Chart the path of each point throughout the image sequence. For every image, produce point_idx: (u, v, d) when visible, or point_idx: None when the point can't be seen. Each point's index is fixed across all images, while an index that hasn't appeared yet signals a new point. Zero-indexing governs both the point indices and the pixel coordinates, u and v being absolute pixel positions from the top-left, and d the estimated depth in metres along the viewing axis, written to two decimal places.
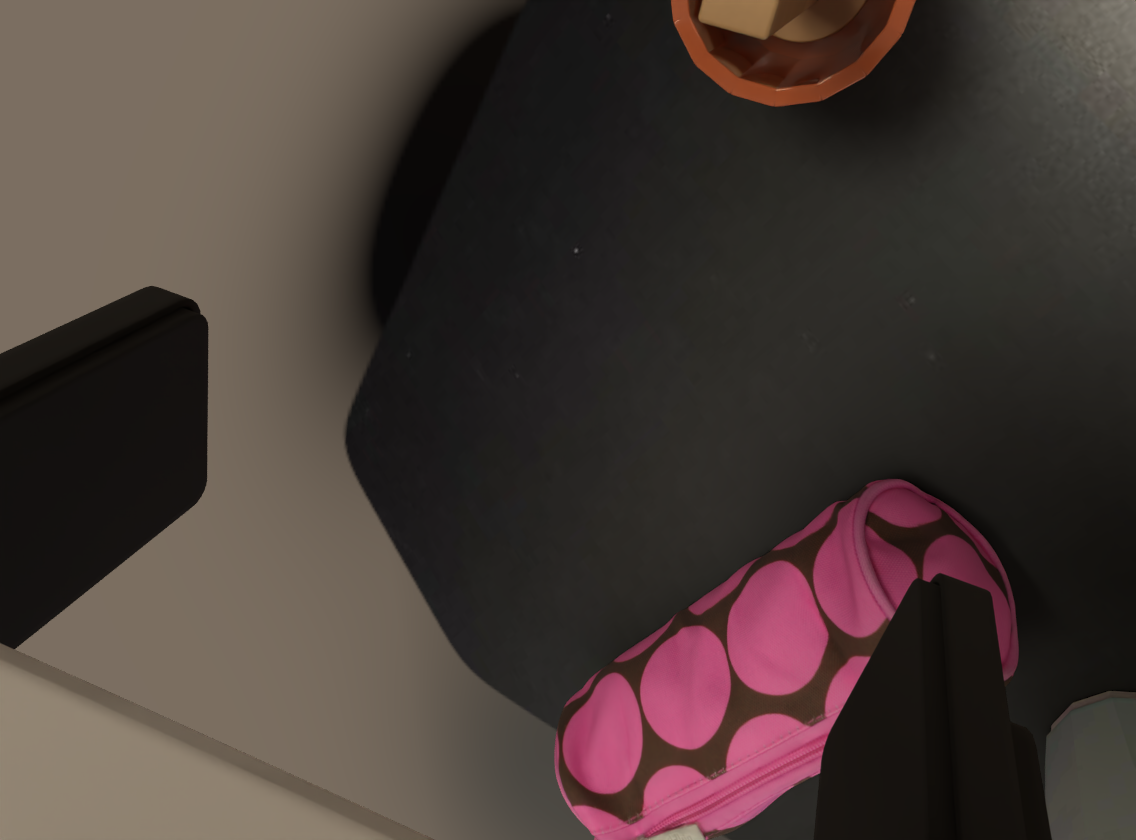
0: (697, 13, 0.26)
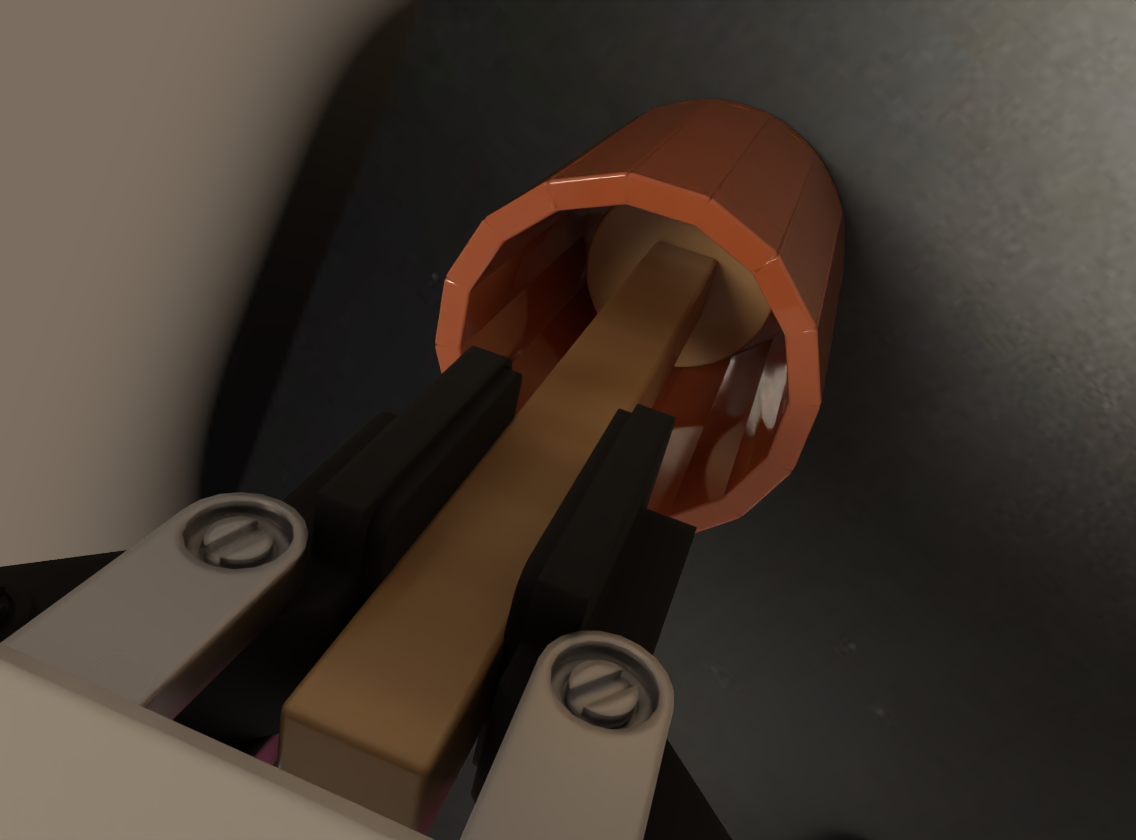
0: None
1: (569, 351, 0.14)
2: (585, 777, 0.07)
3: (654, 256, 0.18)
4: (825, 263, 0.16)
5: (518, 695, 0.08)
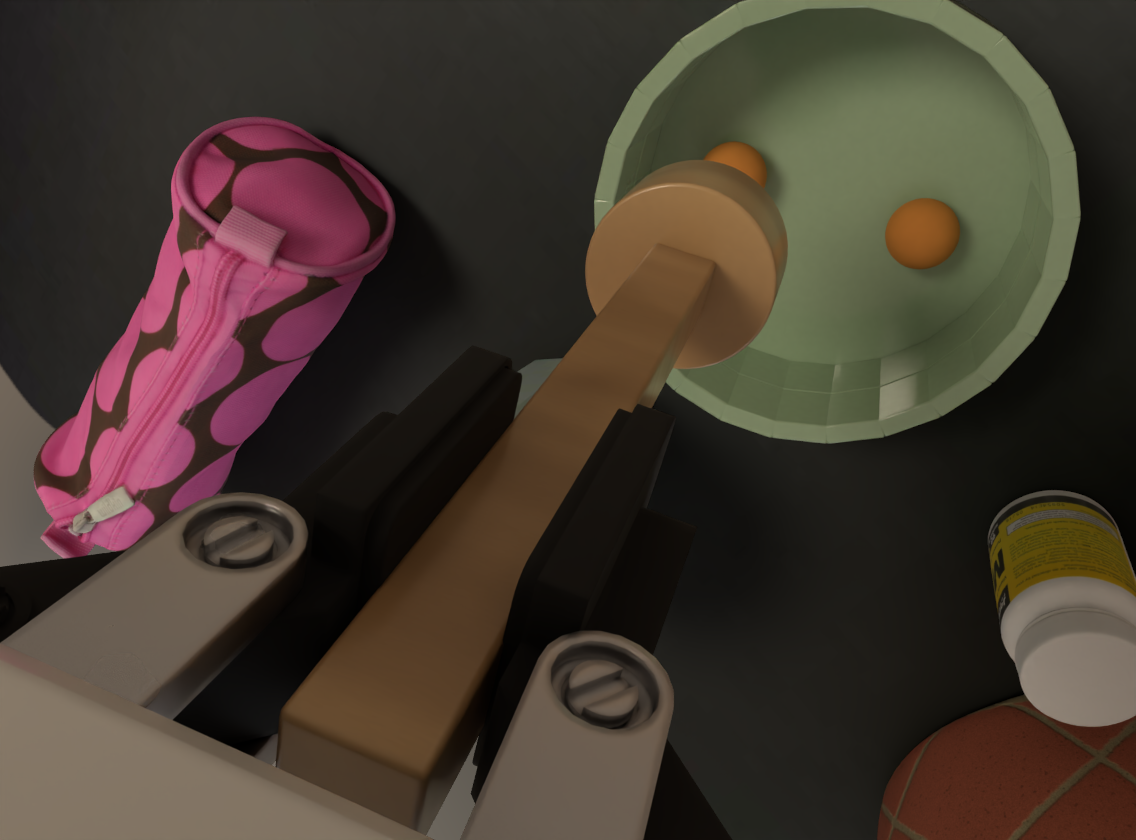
0: None
1: (568, 354, 0.14)
2: (585, 777, 0.07)
3: (653, 258, 0.18)
4: None
5: (518, 695, 0.08)
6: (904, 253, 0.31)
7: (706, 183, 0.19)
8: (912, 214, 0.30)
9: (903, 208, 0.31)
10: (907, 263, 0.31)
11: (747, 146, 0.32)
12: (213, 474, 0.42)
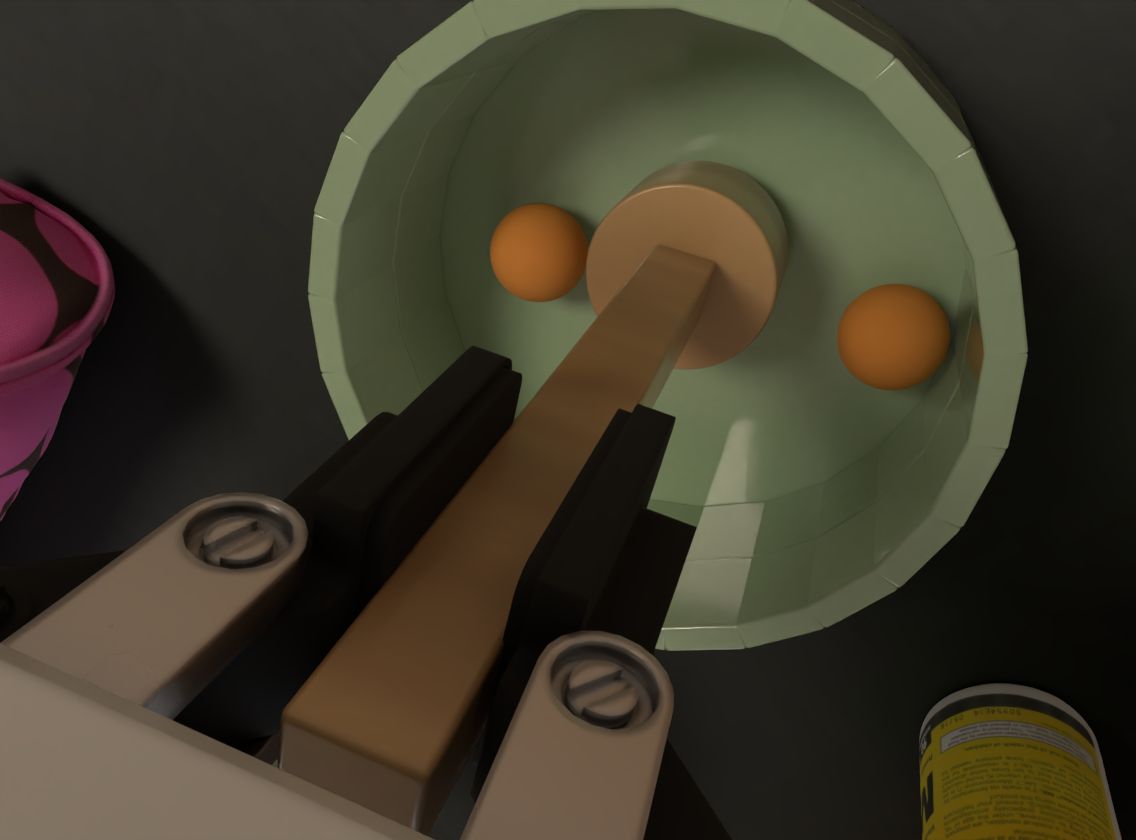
0: None
1: (568, 355, 0.14)
2: (585, 777, 0.07)
3: (653, 259, 0.18)
4: None
5: (518, 695, 0.08)
6: (938, 359, 0.20)
7: (707, 184, 0.19)
8: (925, 301, 0.20)
9: (903, 300, 0.20)
10: (928, 376, 0.20)
11: (554, 211, 0.22)
12: None
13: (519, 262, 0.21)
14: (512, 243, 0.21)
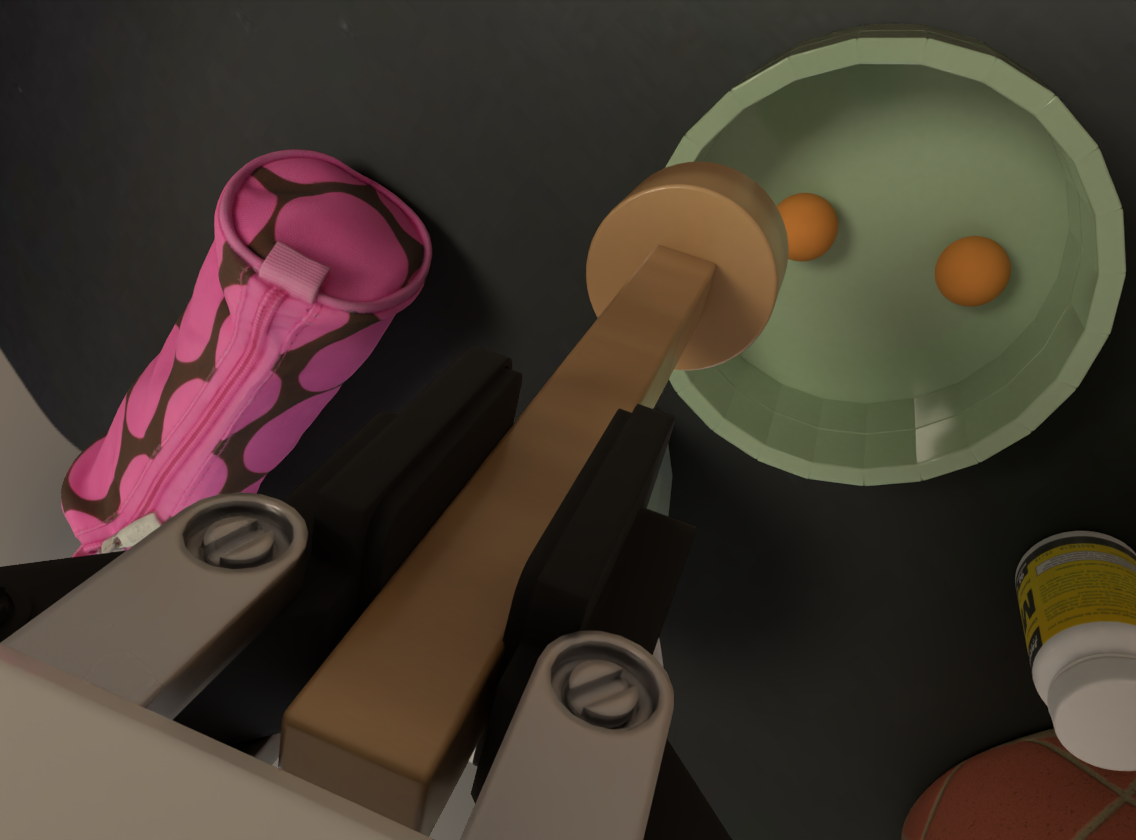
0: None
1: (569, 356, 0.14)
2: (585, 777, 0.07)
3: (654, 260, 0.18)
4: None
5: (518, 695, 0.08)
6: (964, 286, 0.31)
7: (707, 185, 0.19)
8: (975, 247, 0.30)
9: (962, 242, 0.31)
10: (962, 297, 0.31)
11: (823, 198, 0.32)
12: None
13: (828, 235, 0.31)
14: (823, 222, 0.31)
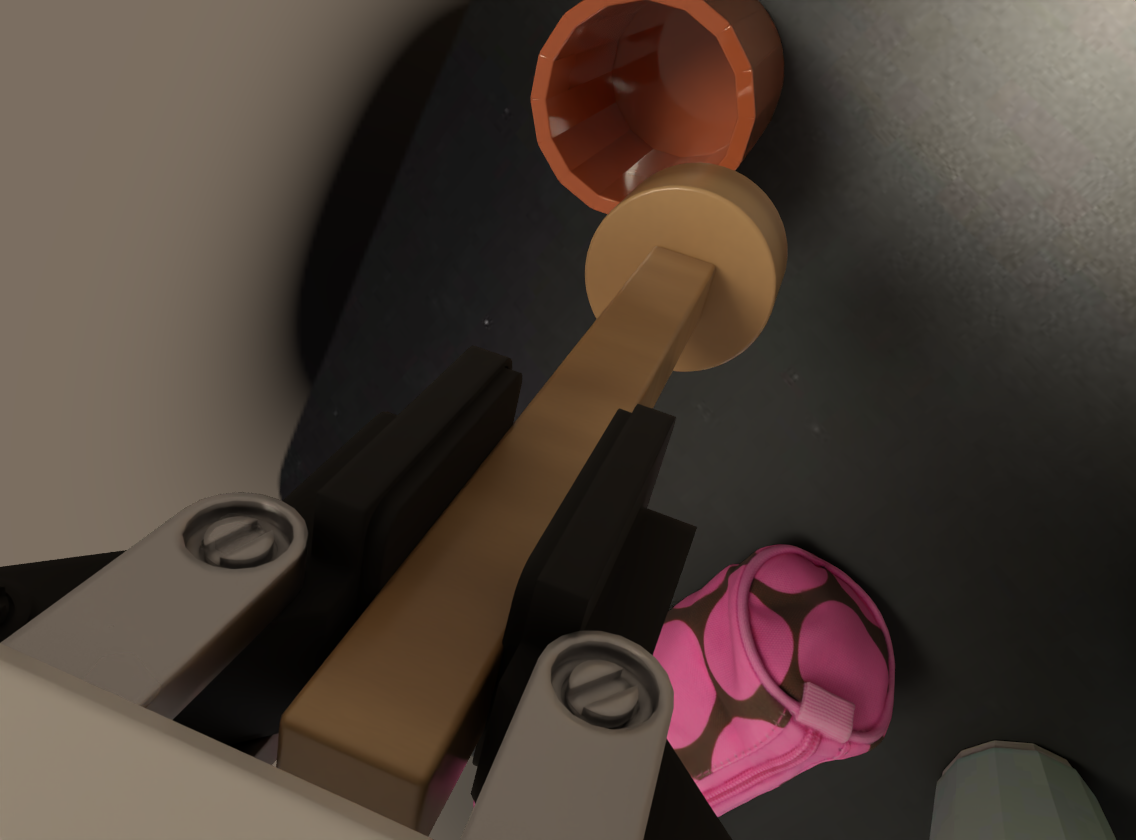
0: (563, 132, 0.28)
1: (567, 357, 0.14)
2: (585, 777, 0.07)
3: (653, 261, 0.18)
4: (762, 52, 0.27)
5: (518, 695, 0.08)
6: None
7: (706, 186, 0.19)
8: None
9: None
10: None
11: None
12: None
13: None
14: None
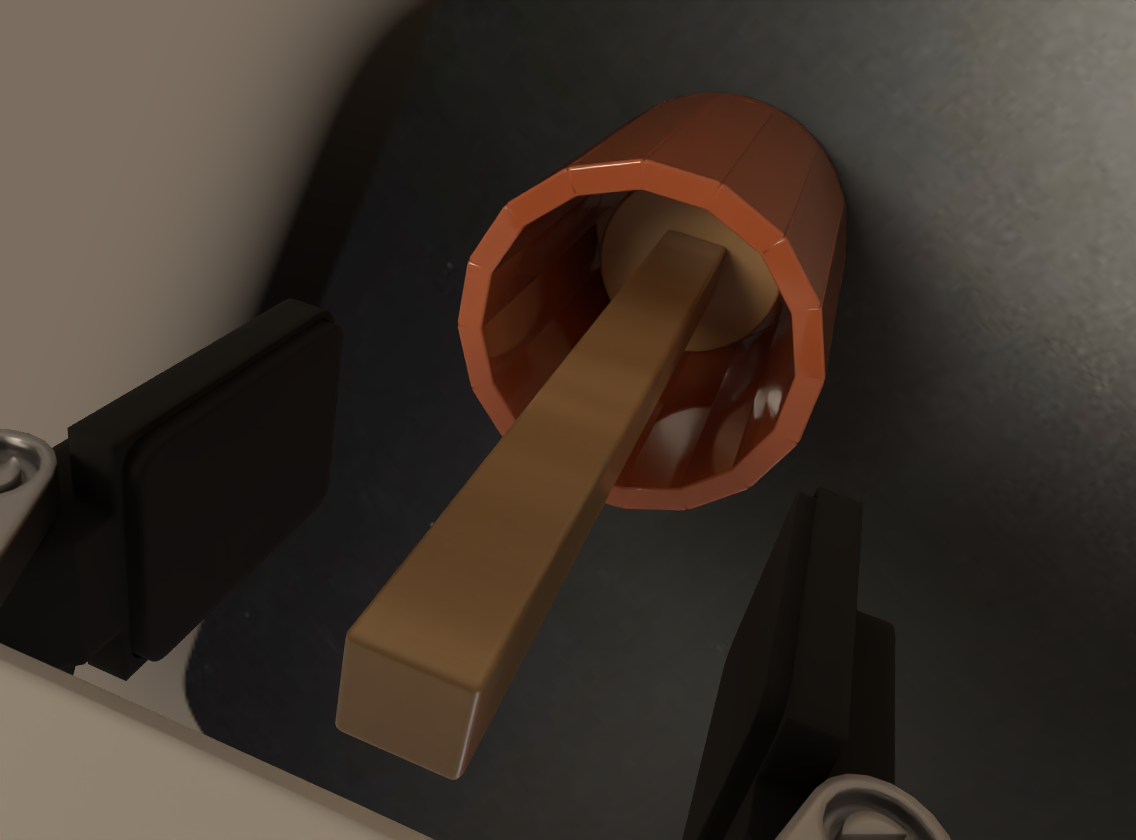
0: (514, 362, 0.18)
1: (590, 329, 0.15)
2: None
3: (666, 243, 0.19)
4: (828, 247, 0.17)
5: None
6: None
7: None
8: None
9: None
10: None
11: None
12: None
13: None
14: None
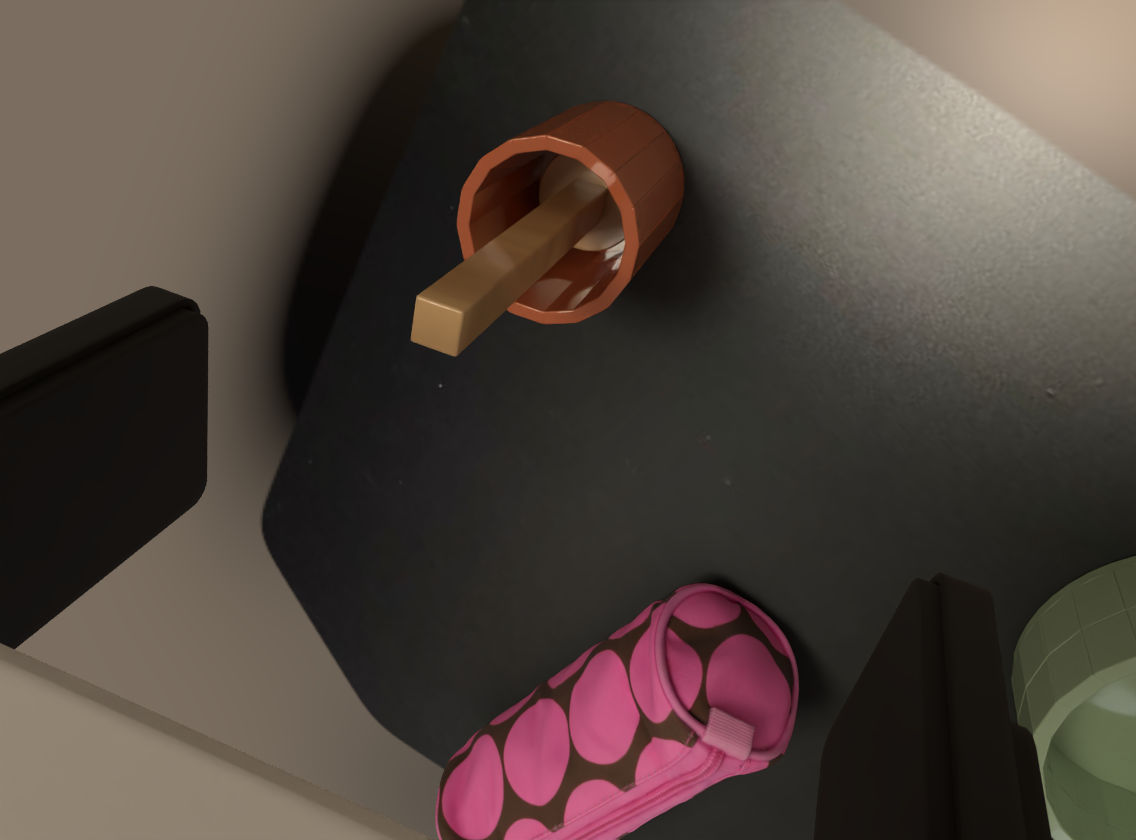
0: None
1: (521, 219, 0.30)
2: None
3: (572, 185, 0.35)
4: (651, 183, 0.32)
5: None
6: None
7: None
8: None
9: None
10: None
11: None
12: None
13: None
14: None
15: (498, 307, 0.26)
